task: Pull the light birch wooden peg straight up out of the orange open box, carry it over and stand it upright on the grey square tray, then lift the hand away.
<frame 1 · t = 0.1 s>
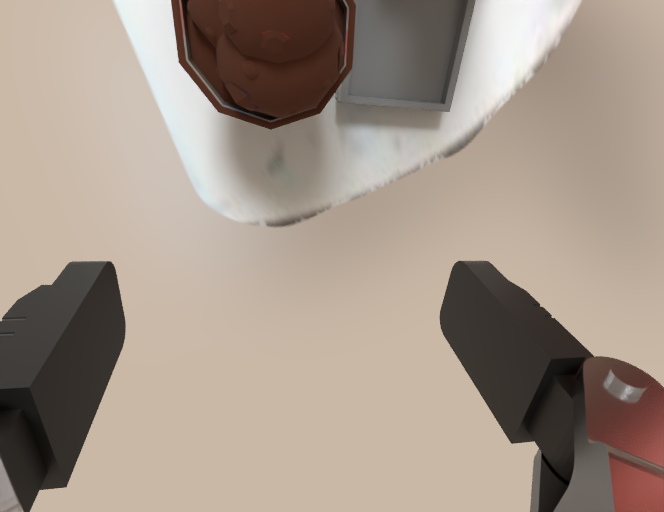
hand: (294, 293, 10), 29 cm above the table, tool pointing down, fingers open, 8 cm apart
ice cream bowl: (263, 32, 32), on the table
grey square tray: (400, 34, 34), on the table
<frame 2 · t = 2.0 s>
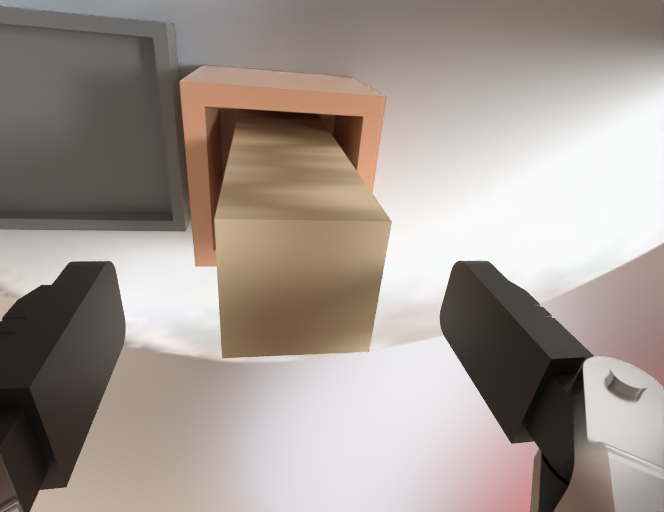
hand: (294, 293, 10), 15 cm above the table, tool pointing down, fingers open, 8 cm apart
birch peg: (278, 148, 22), point 1 cm above the table, touching orange open box
orange open box: (277, 144, 23), on the table
grey square tray: (70, 124, 21), on the table
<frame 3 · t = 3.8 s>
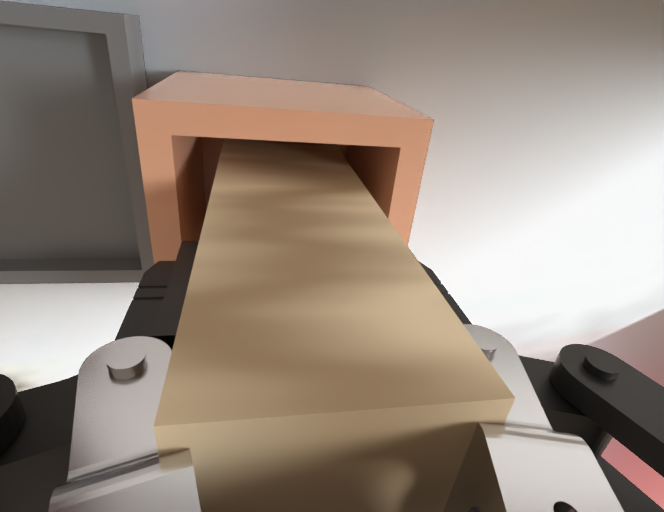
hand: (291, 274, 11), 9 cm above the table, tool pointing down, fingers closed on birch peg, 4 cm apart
birch peg: (276, 176, 17), point 1 cm above the table, touching gripper, orange open box
orange open box: (275, 171, 18), on the table
grey square tray: (4, 147, 16), on the table
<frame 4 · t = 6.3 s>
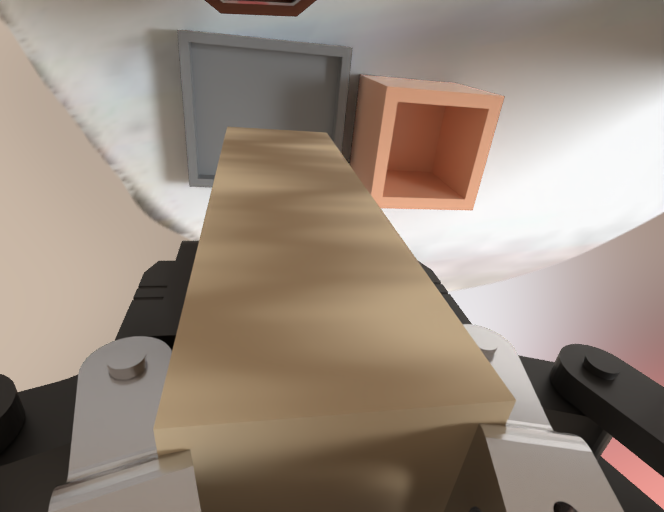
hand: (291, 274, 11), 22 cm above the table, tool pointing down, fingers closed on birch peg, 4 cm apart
birch peg: (276, 177, 17), point 15 cm above the table, touching gripper
orange open box: (400, 130, 32), on the table
grey square tray: (266, 115, 30), on the table
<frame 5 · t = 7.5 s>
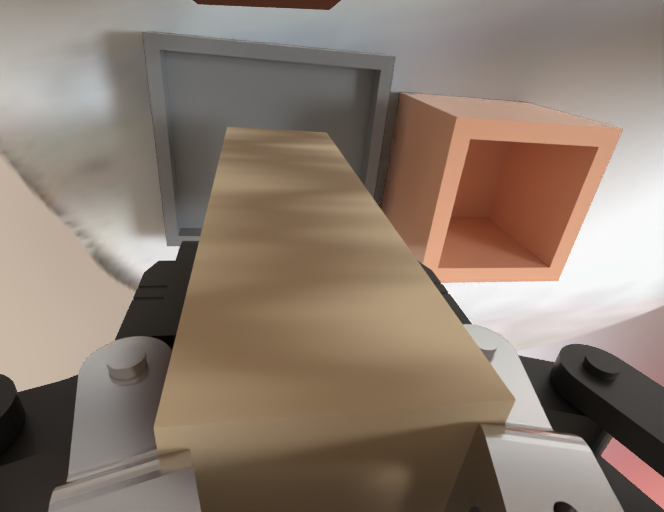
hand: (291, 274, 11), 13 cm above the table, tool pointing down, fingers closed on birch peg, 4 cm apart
birch peg: (276, 177, 17), point 5 cm above the table, touching gripper
orange open box: (449, 164, 24), on the table
grey square tray: (272, 147, 22), on the table
when the fingers open (10 cm above the table, at t = 8.8 s): birch peg drops 1 cm, resting on grey square tray.
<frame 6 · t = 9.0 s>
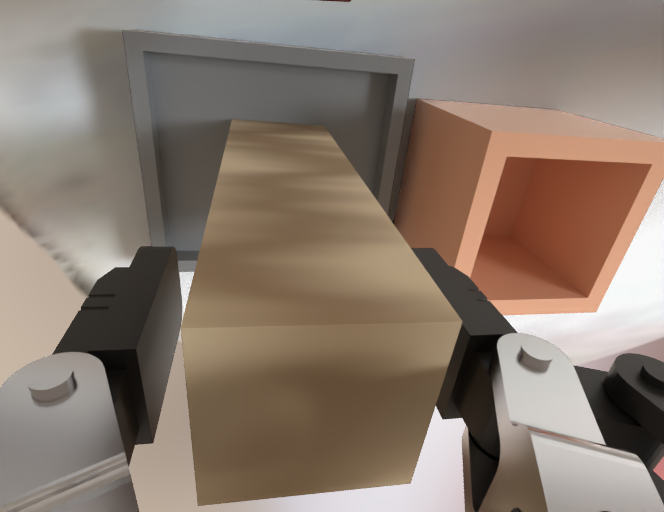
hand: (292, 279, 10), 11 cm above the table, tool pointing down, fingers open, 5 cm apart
birch peg: (277, 167, 19), point 1 cm above the table, touching grey square tray
orange open box: (469, 178, 22), on the table
grey square tray: (273, 160, 19), on the table
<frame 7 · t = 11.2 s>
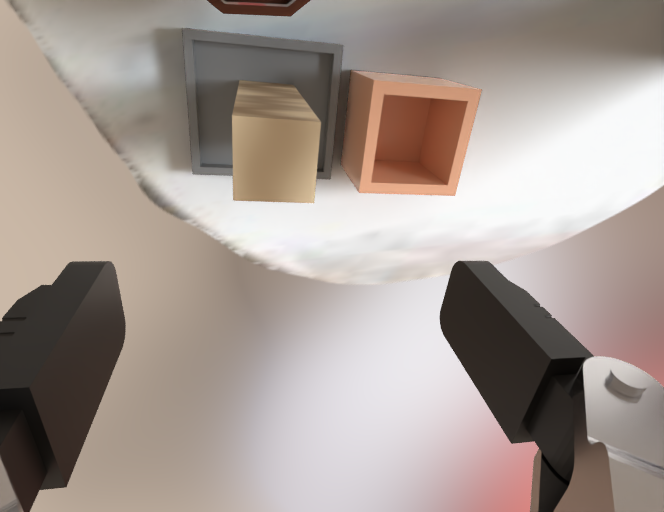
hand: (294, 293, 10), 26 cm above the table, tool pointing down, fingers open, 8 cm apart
birch peg: (266, 110, 31), point 1 cm above the table, touching grey square tray
orange open box: (388, 122, 34), on the table
grey square tray: (263, 107, 32), on the table
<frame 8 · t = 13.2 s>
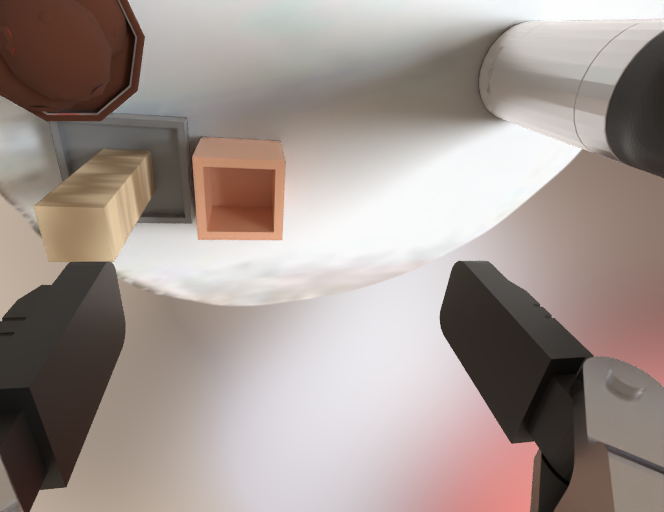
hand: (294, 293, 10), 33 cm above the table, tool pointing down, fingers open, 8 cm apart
birch peg: (130, 170, 38), point 1 cm above the table, touching grey square tray
orange open box: (242, 176, 42), on the table
ice cream bowl: (99, 33, 34), on the table
grey square tray: (131, 167, 39), on the table
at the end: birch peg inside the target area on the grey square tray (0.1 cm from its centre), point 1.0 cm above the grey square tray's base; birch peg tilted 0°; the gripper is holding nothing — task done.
